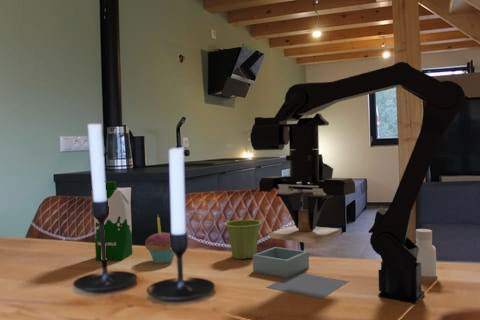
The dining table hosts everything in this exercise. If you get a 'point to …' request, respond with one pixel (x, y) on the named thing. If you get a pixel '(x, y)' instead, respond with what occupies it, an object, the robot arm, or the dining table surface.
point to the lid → (305, 231)
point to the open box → (281, 262)
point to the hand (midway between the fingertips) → (305, 228)
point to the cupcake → (159, 246)
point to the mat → (308, 285)
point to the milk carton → (116, 224)
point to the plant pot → (243, 237)
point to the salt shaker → (426, 252)
